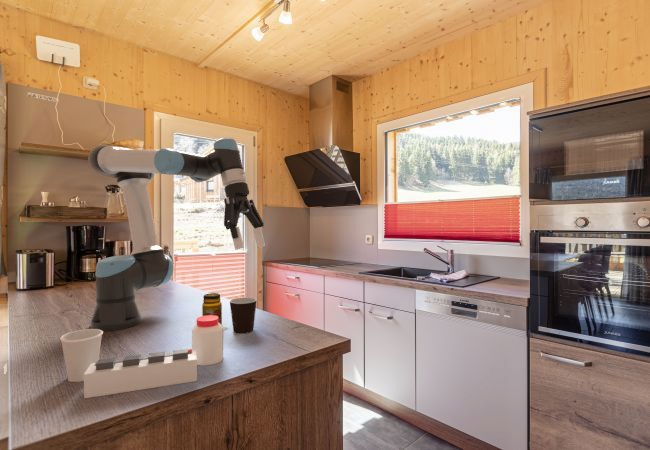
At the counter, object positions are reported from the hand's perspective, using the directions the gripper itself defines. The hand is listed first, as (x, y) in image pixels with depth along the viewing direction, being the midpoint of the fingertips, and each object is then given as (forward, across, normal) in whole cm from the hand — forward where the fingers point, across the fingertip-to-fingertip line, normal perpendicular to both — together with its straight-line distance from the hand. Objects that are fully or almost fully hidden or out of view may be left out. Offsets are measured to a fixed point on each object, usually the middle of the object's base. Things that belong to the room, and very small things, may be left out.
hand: (251, 247), depth 115 cm
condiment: (+22, -1, +22) cm, 31 cm away
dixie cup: (+22, -40, +29) cm, 54 cm away
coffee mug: (+25, +4, +12) cm, 28 cm away
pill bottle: (+27, -22, +8) cm, 36 cm away
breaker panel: (+26, -38, +13) cm, 48 cm away
